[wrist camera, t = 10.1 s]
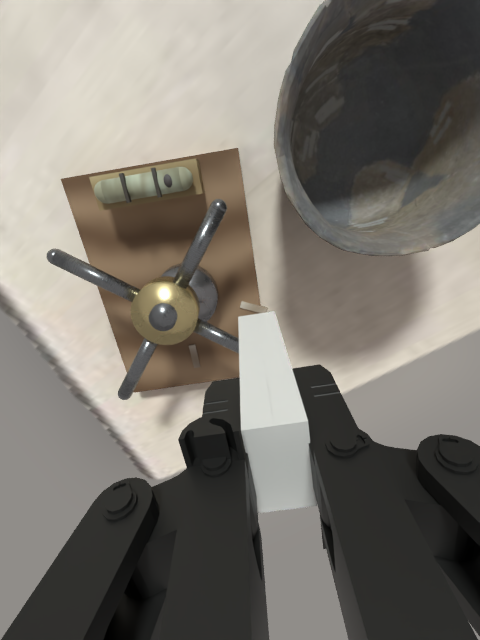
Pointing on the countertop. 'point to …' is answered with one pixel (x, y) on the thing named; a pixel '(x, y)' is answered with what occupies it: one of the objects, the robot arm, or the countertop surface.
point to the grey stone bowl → (384, 124)
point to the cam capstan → (164, 299)
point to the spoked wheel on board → (169, 252)
